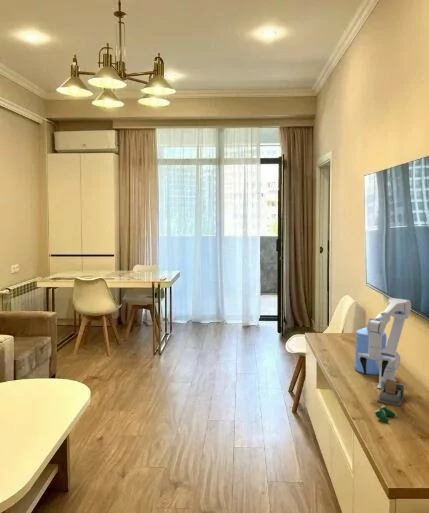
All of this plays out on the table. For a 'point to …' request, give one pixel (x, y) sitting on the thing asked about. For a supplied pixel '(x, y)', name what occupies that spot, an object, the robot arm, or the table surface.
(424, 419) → the table surface
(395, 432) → the table surface
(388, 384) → the brown rectangular block
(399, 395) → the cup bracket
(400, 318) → the robot arm
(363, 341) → the water jug
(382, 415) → the gaming controller
